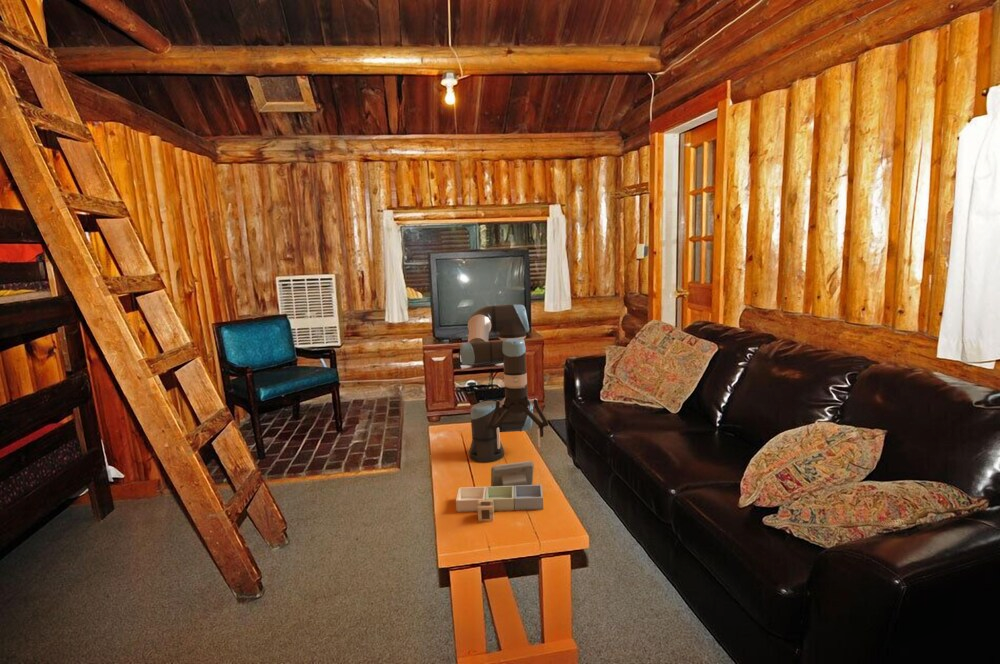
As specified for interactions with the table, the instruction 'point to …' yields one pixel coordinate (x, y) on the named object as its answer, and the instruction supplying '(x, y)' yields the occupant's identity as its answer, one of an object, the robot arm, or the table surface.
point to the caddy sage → (501, 497)
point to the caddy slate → (528, 497)
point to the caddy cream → (469, 498)
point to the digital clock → (512, 474)
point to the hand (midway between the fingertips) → (519, 446)
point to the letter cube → (485, 510)
